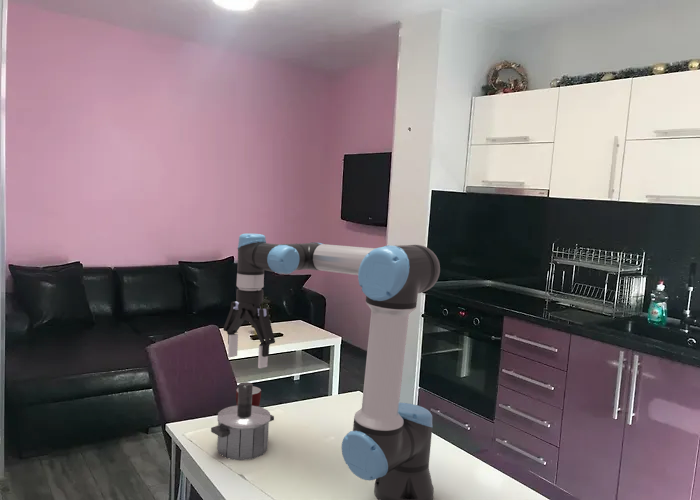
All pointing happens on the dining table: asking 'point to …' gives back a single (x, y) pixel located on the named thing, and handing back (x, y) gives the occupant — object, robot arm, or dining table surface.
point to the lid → (244, 411)
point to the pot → (242, 441)
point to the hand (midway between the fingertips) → (247, 361)
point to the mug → (253, 396)
